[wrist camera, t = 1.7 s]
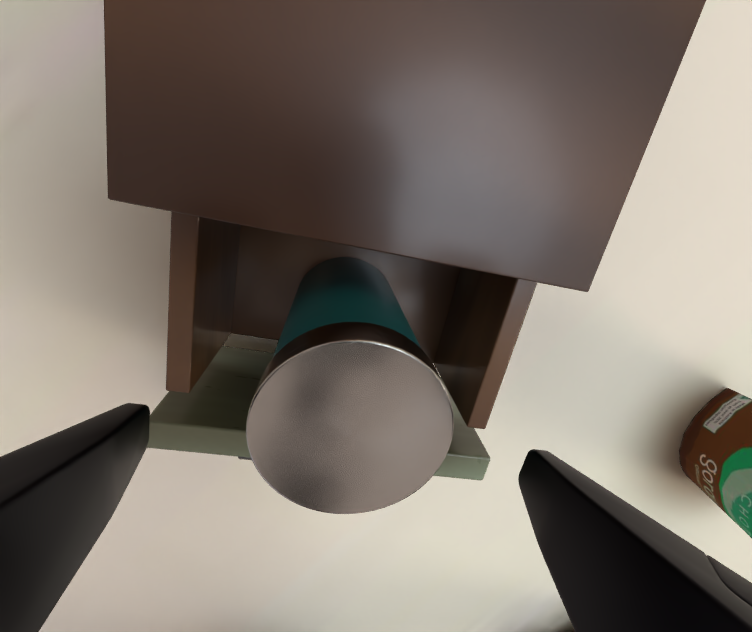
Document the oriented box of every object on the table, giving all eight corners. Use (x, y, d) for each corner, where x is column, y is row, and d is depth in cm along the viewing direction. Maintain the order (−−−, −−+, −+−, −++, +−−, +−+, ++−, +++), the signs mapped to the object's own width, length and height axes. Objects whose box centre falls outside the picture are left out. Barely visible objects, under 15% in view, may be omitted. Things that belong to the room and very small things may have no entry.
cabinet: (490, 248, 20) (588, 292, 12) (209, 190, 18) (107, 199, 10) (604, -125, 15) (890, -453, 7) (237, -271, 13) (81, -976, 5)
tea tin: (413, 281, 18) (493, 388, 9) (367, 365, 20) (395, 535, 10) (318, 236, 17) (296, 303, 8) (277, 328, 18) (214, 482, 9)
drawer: (425, 449, 23) (457, 549, 17) (201, 425, 21) (142, 529, 15) (521, 128, 17) (626, 98, 11) (226, 50, 15) (149, -41, 9)
